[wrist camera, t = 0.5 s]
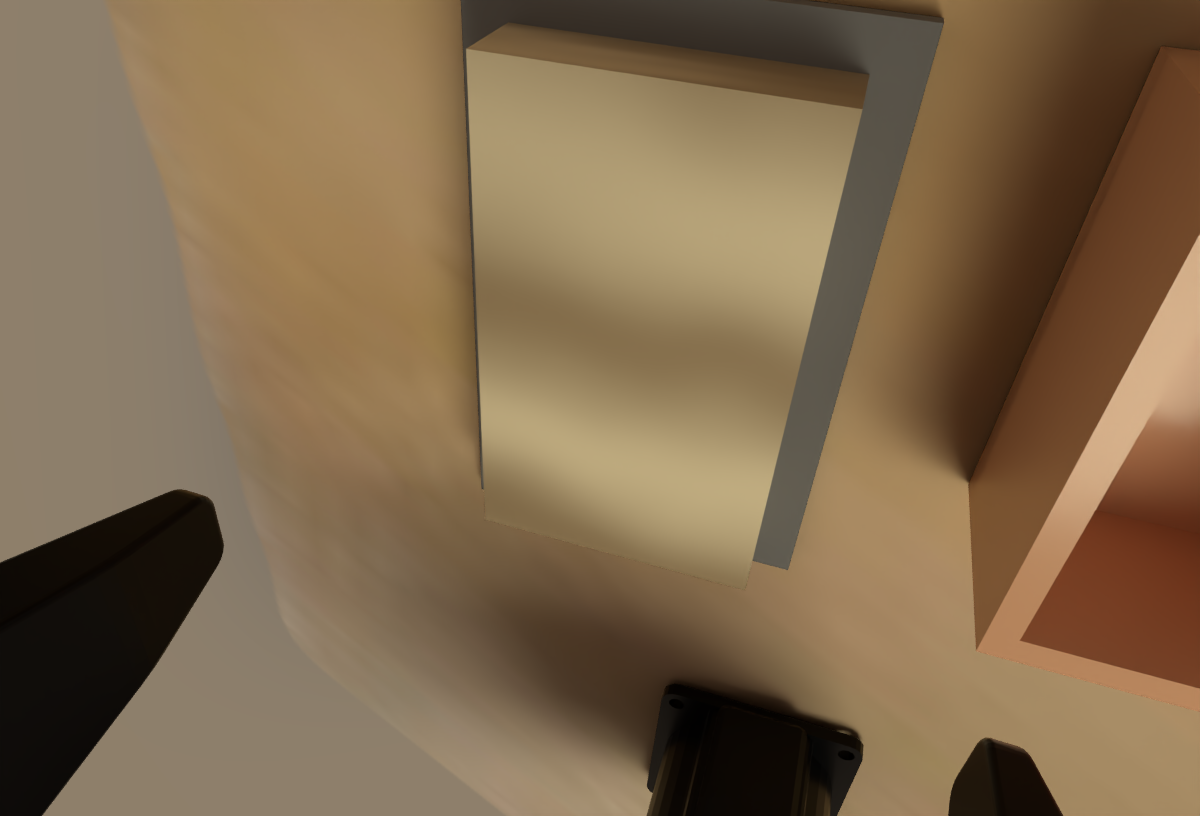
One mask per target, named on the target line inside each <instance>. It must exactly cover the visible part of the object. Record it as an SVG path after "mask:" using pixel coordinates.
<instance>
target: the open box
mask: <svg viewBox="0 0 1200 816" xmlns="http://www.w3.org/2000/svg"><path fill="white" fill-rule="evenodd" d="M969 507H970V529H971V551H972V572H973V594H974V616H975V638H976V651H978V652H981V653H985V654H989V655H992V656H996V657H1000V658H1003V659H1007V660H1011V661H1014V662H1018V663H1022V664H1025V665H1029V666H1033V667H1036V668H1040V669H1044V670H1048V671H1051V672H1055V673H1059V674H1062V675H1066V676H1070V677H1073V678H1077V679H1081V680H1084V681H1088V682H1092V683H1095V684H1099V685H1103V686H1107V687H1110V688H1114V689H1118V690H1121V691H1125V692H1129V693H1132V694H1136V695H1140V696H1143V697H1147V698H1151V699H1154V700H1158V701H1162V702H1166V703H1169V704H1173V705H1177V706H1180V707H1184V708H1188V709H1191V710H1195V711H1199V712H1200V51H1197V50H1189V49H1181V48H1173V47H1166V46H1161V48H1160V50H1159V53H1158V55H1157V57H1156V59H1155V62H1154V64H1153V66H1152V69H1151V71H1150V73H1149V75H1148V78H1147V80H1146V82H1145V84H1144V87H1143V89H1142V91H1141V94H1140V96H1139V98H1138V100H1137V103H1136V105H1135V107H1134V109H1133V112H1132V114H1131V116H1130V119H1129V121H1128V123H1127V125H1126V128H1125V130H1124V132H1123V134H1122V137H1121V139H1120V141H1119V144H1118V146H1117V148H1116V150H1115V153H1114V155H1113V157H1112V159H1111V162H1110V164H1109V166H1108V169H1107V171H1106V173H1105V175H1104V178H1103V180H1102V182H1101V184H1100V187H1099V189H1098V191H1097V194H1096V196H1095V198H1094V200H1093V203H1092V205H1091V207H1090V209H1089V212H1088V214H1087V216H1086V219H1085V221H1084V223H1083V225H1082V228H1081V230H1080V232H1079V234H1078V237H1077V239H1076V241H1075V244H1074V246H1073V248H1072V250H1071V253H1070V255H1069V257H1068V260H1067V262H1066V264H1065V266H1064V269H1063V271H1062V273H1061V275H1060V278H1059V280H1058V282H1057V285H1056V287H1055V289H1054V291H1053V294H1052V296H1051V298H1050V300H1049V303H1048V305H1047V307H1046V310H1045V312H1044V314H1043V316H1042V319H1041V321H1040V323H1039V325H1038V328H1037V330H1036V332H1035V335H1034V337H1033V339H1032V341H1031V344H1030V346H1029V348H1028V350H1027V353H1026V355H1025V357H1024V360H1023V362H1022V364H1021V366H1020V369H1019V371H1018V373H1017V375H1016V378H1015V380H1014V382H1013V385H1012V387H1011V389H1010V391H1009V394H1008V396H1007V398H1006V400H1005V403H1004V405H1003V407H1002V410H1001V412H1000V414H999V416H998V419H997V421H996V423H995V425H994V428H993V430H992V432H991V435H990V437H989V439H988V441H987V444H986V446H985V448H984V450H983V453H982V455H981V457H980V460H979V462H978V464H977V466H976V469H975V471H974V473H973V475H972V478H971V480H970V482H969Z"/></svg>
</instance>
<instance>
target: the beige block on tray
mask: <svg viewBox="0 0 1200 816" xmlns="http://www.w3.org/2000/svg"><path fill="white" fill-rule="evenodd" d="M466 60H467V85H468V110H469V134H470V159H471V184H472V209H473V234H474V259H475V283H476V308H477V333H478V358H479V383H480V407H481V432H482V457H483V482H484V507H485V520H487V521H491V522H495V523H498V524H502V525H506V526H509V527H513V528H517V529H520V530H524V531H528V532H531V533H535V534H539V535H542V536H546V537H550V538H553V539H557V540H561V541H565V542H568V543H572V544H576V545H579V546H583V547H587V548H590V549H594V550H598V551H601V552H605V553H609V554H612V555H616V556H620V557H623V558H627V559H631V560H634V561H638V562H642V563H645V564H649V565H653V566H656V567H660V568H664V569H668V570H671V571H675V572H679V573H682V574H686V575H690V576H693V577H697V578H701V579H704V580H708V581H712V582H715V583H719V584H723V585H726V586H730V587H734V588H737V589H741V590H745V589H746V585H747V580H748V576H749V572H750V568H751V564H752V560H753V556H754V552H755V548H756V544H757V540H758V535H759V531H760V527H761V523H762V519H763V515H764V511H765V507H766V503H767V499H768V495H769V490H770V486H771V482H772V478H773V474H774V470H775V466H776V462H777V458H778V454H779V450H780V445H781V441H782V437H783V433H784V429H785V425H786V421H787V417H788V413H789V409H790V404H791V400H792V396H793V392H794V388H795V384H796V380H797V376H798V372H799V368H800V364H801V359H802V355H803V351H804V347H805V343H806V339H807V335H808V331H809V327H810V323H811V319H812V314H813V310H814V306H815V302H816V298H817V294H818V290H819V286H820V282H821V278H822V273H823V269H824V265H825V261H826V257H827V253H828V249H829V245H830V241H831V237H832V233H833V228H834V224H835V220H836V216H837V212H838V208H839V204H840V200H841V196H842V192H843V188H844V183H845V179H846V175H847V171H848V167H849V163H850V159H851V155H852V151H853V147H854V142H855V138H856V134H857V130H858V126H859V122H860V118H861V114H862V110H863V105H864V100H865V95H866V90H867V85H868V81H869V76H870V75H869V74H862V73H855V72H848V71H841V70H834V69H827V68H820V67H813V66H806V65H799V64H792V63H786V62H779V61H772V60H765V59H758V58H751V57H744V56H737V55H730V54H723V53H716V52H709V51H702V50H696V49H689V48H682V47H675V46H668V45H661V44H654V43H647V42H640V41H633V40H626V39H619V38H612V37H606V36H599V35H592V34H585V33H578V32H571V31H564V30H557V29H550V28H543V27H536V26H529V25H522V24H516V23H509V22H508V23H507V24H505V25H503V26H502V27H500V28H499V29H497V30H495V31H494V32H492V33H491V34H489V35H487V36H486V37H484V38H483V39H481V40H479V41H478V42H476V43H475V44H473V45H471V46H470V47H468V48H467V49H466Z"/></svg>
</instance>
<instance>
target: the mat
mask: <svg viewBox="0 0 1200 816" xmlns="http://www.w3.org/2000/svg"><path fill="white" fill-rule="evenodd" d="M461 14H462V38H463V61H464V85H465V108H466V132H467V155H468V179H469V203H470V226H471V250H472V273H473V297H474V320H475V344H476V368H477V391H478V415H479V438H480V462H481V486H482V489H483V490H484V482H483V457H482V432H481V407H480V383H479V358H478V333H477V308H476V283H475V259H474V234H473V209H472V184H471V159H470V134H469V110H468V85H467V60H466V49H467V48H468V47H470V46H471V45H473V44H475V43H476V42H478V41H479V40H481V39H483V38H484V37H486V36H487V35H489V34H491V33H492V32H494V31H495V30H497V29H499V28H500V27H502V26H503V25H505V24H507V23H508V22H509V23H516V24H522V25H529V26H536V27H543V28H550V29H557V30H564V31H571V32H578V33H585V34H592V35H599V36H606V37H612V38H619V39H626V40H633V41H640V42H647V43H654V44H661V45H668V46H675V47H682V48H689V49H696V50H702V51H709V52H716V53H723V54H730V55H737V56H744V57H751V58H758V59H765V60H772V61H779V62H786V63H792V64H799V65H806V66H813V67H820V68H827V69H834V70H841V71H848V72H855V73H862V74H869V75H870V76H869V81H868V85H867V90H866V95H865V100H864V105H863V110H862V114H861V118H860V122H859V126H858V130H857V134H856V138H855V142H854V147H853V151H852V155H851V159H850V163H849V167H848V171H847V175H846V179H845V183H844V188H843V192H842V196H841V200H840V204H839V208H838V212H837V216H836V220H835V224H834V228H833V233H832V237H831V241H830V245H829V249H828V253H827V257H826V261H825V265H824V269H823V273H822V278H821V282H820V286H819V290H818V294H817V298H816V302H815V306H814V310H813V314H812V319H811V323H810V327H809V331H808V335H807V339H806V343H805V347H804V351H803V355H802V359H801V364H800V368H799V372H798V376H797V380H796V384H795V388H794V392H793V396H792V400H791V404H790V409H789V413H788V417H787V421H786V425H785V429H784V433H783V437H782V441H781V445H780V450H779V454H778V458H777V462H776V466H775V470H774V474H773V478H772V482H771V486H770V490H769V495H768V499H767V503H766V507H765V511H764V515H763V519H762V523H761V527H760V531H759V535H758V540H757V544H756V548H755V552H754V556H753V560H752V561H756V562H760V563H763V564H767V565H771V566H775V567H778V568H782V569H786V570H788V568H789V564H790V561H791V557H792V554H793V550H794V547H795V543H796V540H797V536H798V533H799V529H800V526H801V522H802V519H803V515H804V512H805V508H806V505H807V501H808V498H809V494H810V491H811V487H812V484H813V480H814V477H815V473H816V470H817V466H818V463H819V459H820V456H821V452H822V449H823V445H824V442H825V438H826V435H827V431H828V428H829V424H830V421H831V417H832V414H833V410H834V407H835V403H836V400H837V396H838V393H839V389H840V386H841V382H842V379H843V375H844V372H845V368H846V364H847V361H848V357H849V354H850V350H851V347H852V343H853V340H854V336H855V333H856V329H857V326H858V322H859V319H860V315H861V312H862V308H863V305H864V301H865V298H866V294H867V291H868V287H869V284H870V280H871V277H872V273H873V270H874V266H875V263H876V259H877V256H878V252H879V249H880V245H881V242H882V238H883V235H884V231H885V228H886V224H887V221H888V217H889V214H890V210H891V207H892V203H893V200H894V196H895V193H896V189H897V186H898V182H899V179H900V175H901V172H902V168H903V165H904V161H905V158H906V154H907V151H908V147H909V144H910V140H911V137H912V133H913V130H914V126H915V123H916V119H917V116H918V112H919V109H920V105H921V102H922V98H923V95H924V91H925V88H926V84H927V81H928V77H929V73H930V70H931V66H932V63H933V59H934V56H935V52H936V49H937V45H938V42H939V38H940V35H941V31H942V28H943V24H944V18H941V17H933V16H926V15H918V14H910V13H902V12H895V11H887V10H879V9H871V8H864V7H856V6H848V5H840V4H833V3H825V2H817V1H809V0H461Z"/></svg>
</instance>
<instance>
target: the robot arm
mask: <svg viewBox="0 0 1200 816" xmlns="http://www.w3.org/2000/svg"><path fill="white" fill-rule="evenodd" d="M223 548H224V543H223V538H222V534H221V531H220V527H219V523H218V519H217V515H216V511H215V507H214V504H213V502H212V501H211V500H210V499H209V498H208V497H206V496H203V495H200V494H197V493H194V492H190V491H187V490H182V489H179V490H173V491H170V492H168V493H165V494H163V495H160V496H158V497H155V498H153V499H151V500H148V501H146V502H143V503H141V504H139V505H136V506H134V507H132V508H129V509H127V510H124V511H122V512H120V513H117V514H115V515H112V516H110V517H108V518H105V519H103V520H101V521H98V522H96V523H93V524H91V525H89V526H86V527H84V528H81V529H79V530H77V531H74V532H72V533H69V534H67V535H65V536H62V537H60V538H58V539H55V540H53V541H51V542H48V543H46V544H43V545H41V546H38V547H36V548H34V549H31V550H29V551H26V552H24V553H22V554H19V555H17V556H15V557H12V558H10V559H7V560H5V561H3V562H1V563H0V816H42V815H43V814H44V813H45V811H46V810H47V809H48V807H49V806H50V805H51V803H52V802H53V801H54V799H55V798H56V797H57V795H58V794H59V793H60V792H61V790H62V789H63V788H64V786H65V785H66V784H67V782H68V781H69V780H70V778H71V777H72V776H73V774H74V773H75V772H76V771H77V769H78V768H79V767H80V765H81V764H82V763H83V761H84V760H85V759H86V757H87V756H88V755H89V754H90V752H91V751H92V750H93V748H94V747H95V746H96V744H97V742H99V740H100V739H101V738H102V736H103V735H104V734H105V732H106V731H107V730H108V729H109V727H110V726H111V725H112V723H113V722H114V721H115V719H116V718H117V717H118V715H119V714H120V713H121V712H122V710H123V709H124V708H125V706H126V705H127V704H128V702H129V701H130V700H131V698H132V697H133V696H134V694H135V693H136V692H137V691H138V689H139V688H140V687H141V685H142V684H143V682H144V681H145V679H146V678H147V677H148V676H149V674H150V673H151V671H152V670H153V668H154V667H155V666H156V664H157V663H158V661H159V659H160V658H161V657H162V655H163V653H164V652H165V650H166V648H167V647H168V645H169V644H170V642H171V641H172V639H173V637H174V636H175V634H176V632H177V631H178V629H179V628H180V626H181V624H182V623H183V621H184V620H185V618H186V616H187V615H188V613H189V611H190V610H191V608H192V607H193V605H194V603H195V602H196V600H197V598H198V597H199V595H200V594H201V592H202V590H203V589H204V587H205V585H206V584H207V582H208V581H209V579H210V577H211V576H212V574H213V572H214V571H215V569H216V567H217V566H218V564H219V562H220V560H221V557H222V554H223ZM862 758H863V744H862V742H861V741H860V740H858V739H857V738H855V737H853V736H850V735H847V734H844V733H840V732H837V731H834V730H830V729H827V728H823V727H820V726H817V725H813V724H810V723H807V722H803V721H800V720H797V719H793V718H790V717H787V716H783V715H780V714H777V713H773V712H770V711H767V710H763V709H760V708H757V707H753V706H750V705H747V704H743V703H740V702H736V701H733V700H730V699H726V698H723V697H720V696H716V695H713V694H710V693H706V692H703V691H700V690H696V689H693V688H690V687H686V686H683V685H679V684H670V685H668V686H666V688H665V690H664V693H663V697H662V701H661V707H660V713H659V718H658V724H657V730H656V736H655V741H654V747H653V753H652V759H651V765H650V770H649V776H648V782H647V788H648V789H649V791H650V792H652V793H653V794H652V798H651V802H650V805H649V809H648V813H647V816H837V814H838V812H839V810H840V808H841V806H842V803H843V801H844V799H845V797H846V795H847V792H848V790H849V788H850V786H851V784H852V782H853V779H854V777H855V775H856V773H857V771H858V769H859V766H860V764H861V762H862ZM948 816H1063V814H1062V813H1061V811H1060V809H1059V807H1058V805H1057V804H1056V802H1055V800H1054V798H1053V796H1052V794H1051V793H1050V791H1049V789H1048V787H1047V785H1046V783H1045V782H1044V780H1043V778H1042V776H1041V774H1040V772H1039V771H1038V769H1037V767H1036V765H1035V763H1034V762H1033V760H1032V758H1031V756H1030V755H1029V754H1028V753H1027V752H1026V751H1025V750H1024V749H1022V748H1020V747H1018V746H1015V745H1011V744H1008V743H1005V742H1002V741H998V740H995V739H992V738H983V739H982V740H980V741H979V742H978V743H977V745H976V746H975V748H974V750H973V751H972V753H971V755H970V756H969V758H968V759H967V761H966V763H965V764H964V766H963V767H962V769H961V771H960V772H959V774H958V776H957V777H956V779H955V781H954V784H953V787H952V791H951V796H950V803H949V814H948Z"/></svg>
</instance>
